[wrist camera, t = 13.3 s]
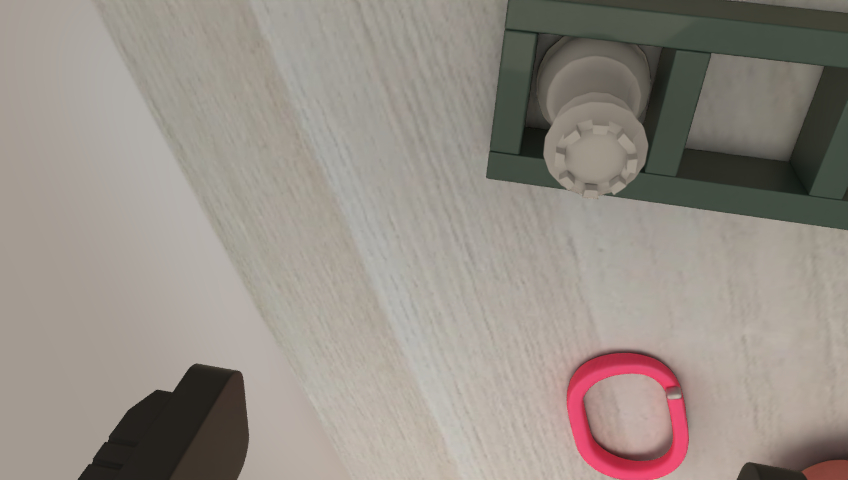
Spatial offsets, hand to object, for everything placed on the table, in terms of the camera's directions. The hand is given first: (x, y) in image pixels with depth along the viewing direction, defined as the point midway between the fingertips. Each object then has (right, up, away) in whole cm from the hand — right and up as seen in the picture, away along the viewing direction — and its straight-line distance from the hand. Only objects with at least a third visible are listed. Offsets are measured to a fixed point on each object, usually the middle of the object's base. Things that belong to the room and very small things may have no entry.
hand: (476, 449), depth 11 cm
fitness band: (+10, -5, +26) cm, 28 cm away
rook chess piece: (+6, +10, +17) cm, 21 cm away
